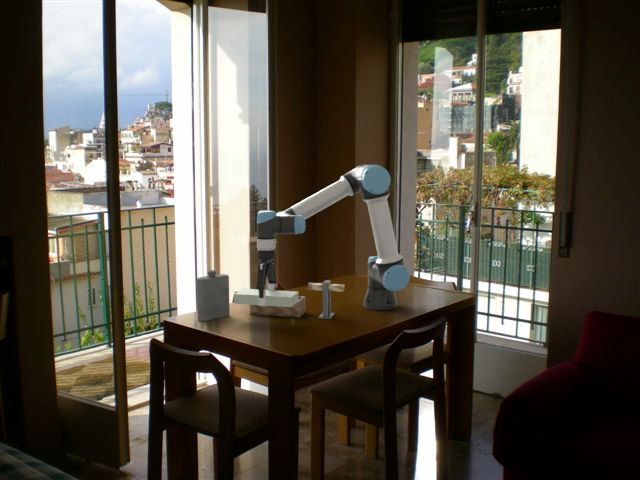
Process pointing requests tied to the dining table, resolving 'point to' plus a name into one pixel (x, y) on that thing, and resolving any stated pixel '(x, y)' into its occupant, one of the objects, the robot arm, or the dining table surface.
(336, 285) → the light wooden bar
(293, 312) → the brown open box
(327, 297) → the grey post stand
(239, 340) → the dining table surface
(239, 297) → the lid
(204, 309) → the flask
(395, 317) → the dining table surface
